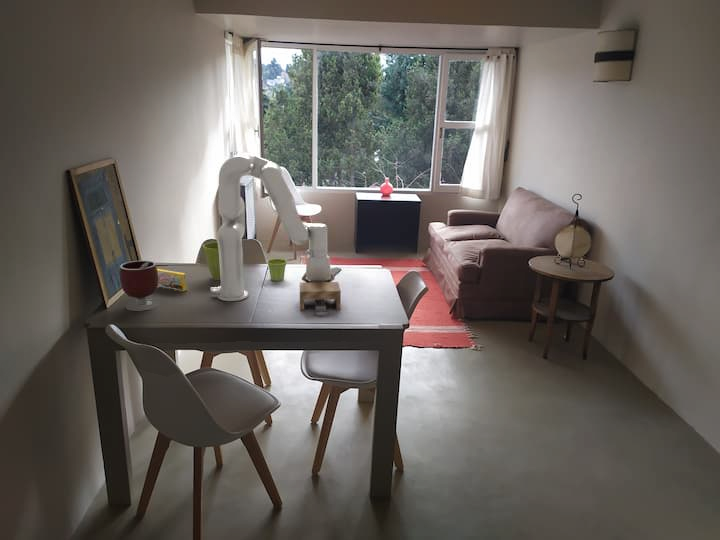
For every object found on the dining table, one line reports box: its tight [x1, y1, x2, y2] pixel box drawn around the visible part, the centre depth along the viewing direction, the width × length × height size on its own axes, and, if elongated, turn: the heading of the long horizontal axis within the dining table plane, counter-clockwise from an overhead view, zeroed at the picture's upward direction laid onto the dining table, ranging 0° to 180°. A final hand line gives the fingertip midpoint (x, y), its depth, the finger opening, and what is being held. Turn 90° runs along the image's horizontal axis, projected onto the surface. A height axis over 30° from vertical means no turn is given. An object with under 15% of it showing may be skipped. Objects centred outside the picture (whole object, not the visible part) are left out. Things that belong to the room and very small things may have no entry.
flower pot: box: [202, 241, 221, 281], centre depth 251 cm, size 15×15×16 cm
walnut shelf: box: [299, 281, 342, 312], centre depth 219 cm, size 16×12×8 cm
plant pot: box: [266, 258, 288, 282], centre depth 252 cm, size 9×9×9 cm
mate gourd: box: [119, 260, 158, 307], centre depth 212 cm, size 16×14×20 cm
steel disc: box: [314, 309, 329, 318], centre depth 210 cm, size 5×5×2 cm
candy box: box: [157, 268, 187, 290], centre depth 235 cm, size 16×2×8 cm, turn 68°
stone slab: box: [326, 267, 342, 281], centre depth 262 cm, size 22×3×10 cm
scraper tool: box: [313, 280, 327, 311], centre depth 222 cm, size 4×21×7 cm, turn 7°
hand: (318, 294), depth 231 cm, fingers closed on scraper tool, 4 cm apart
